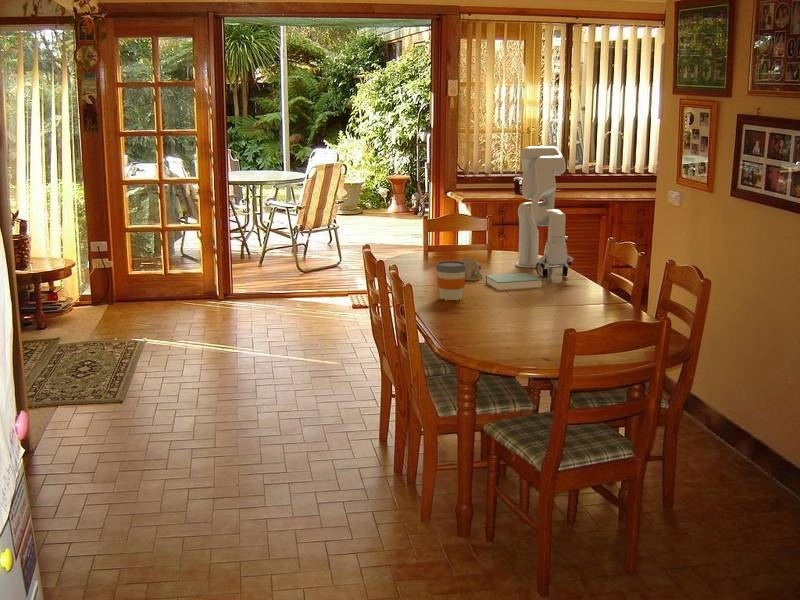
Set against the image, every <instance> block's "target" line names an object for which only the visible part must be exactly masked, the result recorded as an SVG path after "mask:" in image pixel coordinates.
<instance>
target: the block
mask: <svg viewBox="0 0 800 600" xmlns="http://www.w3.org/2000/svg"><path fill="white" fill-rule="evenodd" d="M562 273H563V268H562V267H560V266H548V277H547V278H546V279H547V280H546V281H547V282H548V281H549V282H548V283H550V282H551V283H550V284H561V283H560V282H562V283H563V277H562Z"/></svg>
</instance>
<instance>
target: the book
mask: <svg viewBox="0 0 800 600" xmlns="http://www.w3.org/2000/svg"><path fill="white" fill-rule="evenodd" d="M542 282H543V279H542V278H540V277H538V276H537V275H534V274H532V273H530V272H520V273H505V274H488V275H485V284H486V283H487V284H486V285H488V286H489V285H490V287H491V286H492V287H491V288H493V289H494V288H495V290H496V289H497V290H496V291H510V290H511V291H512V290H525V289H540V287H542Z"/></svg>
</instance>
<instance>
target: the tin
mask: <svg viewBox="0 0 800 600" xmlns="http://www.w3.org/2000/svg"><path fill="white" fill-rule="evenodd" d="M542 263H543V264H544V261H543V260H542ZM549 266H560V267H562V268H563V267H564V265H563V264H556V265H549ZM547 269H548V267H547ZM535 271H536V273H537V275H538V276H540V277H542V278H544V277H543V268H542V267H541V266H540V265H539V262H538V263H537V264H536V268H535ZM564 277H565V276H563V273H562V278H564ZM547 278H548V275H547Z"/></svg>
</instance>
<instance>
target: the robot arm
mask: <svg viewBox="0 0 800 600" xmlns="http://www.w3.org/2000/svg"><path fill="white" fill-rule="evenodd" d="M519 158H520V162H521V164H520V165H521V166H522V168H521V169H522V188H521V192H522V193H521V195H522V198H523V199H525V200H530V201H526V202H523V203H520V204H519V206H518V208H517V215H518V225H519V227H518V232H519V233H518V257H517V258H518V261H516V262H515V264H514V265H515V266H516V267H518V268H522V269H523V268H524V269H526V268H527V269H534V268H535V269H536V264H537V263H538V262H539V265H540V266H541V267H542V268H543V277H542V278H546V279H548V277H547V275H548V269H547V267H548V266H549V265H556V264H563V265H564V267H563V276H564V277H565V278H566V277H567V276H568V271H569V267H570V266H571V265H572V263H573V261H574V259H575V258H574V257H573V256H570V255H569V254H568V247H567V242H566V240H568V236H566V220H567V219H566V214H565V213H564V212H562V210H560V209H555V200H556V197H555V196H556V189H557V183H556V175H563V174H564V173H565V172H566V169H567V163H566V159H565V157H564V155H563V154H562V152H561V151H560V150H559V149H558V147H556V146H555V145H554V146H553V145H551V146H549V145H547V146H546V145H545V146H542V145H541V146H540V145H539V146H538V145H537V146H536V145H535V146H527V147H524V148H523V149H522V150H521V152H520V157H519ZM540 200H543V201H540ZM539 227H548V228H547V241H546V242H545V245H544V250H543V256H540V257H539V238H540V237H539V236H540V235H539V233H540V232H539ZM542 260H543V261H544V264H543V263H542Z"/></svg>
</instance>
